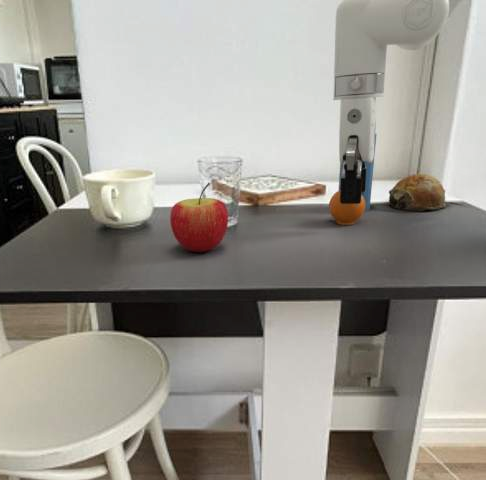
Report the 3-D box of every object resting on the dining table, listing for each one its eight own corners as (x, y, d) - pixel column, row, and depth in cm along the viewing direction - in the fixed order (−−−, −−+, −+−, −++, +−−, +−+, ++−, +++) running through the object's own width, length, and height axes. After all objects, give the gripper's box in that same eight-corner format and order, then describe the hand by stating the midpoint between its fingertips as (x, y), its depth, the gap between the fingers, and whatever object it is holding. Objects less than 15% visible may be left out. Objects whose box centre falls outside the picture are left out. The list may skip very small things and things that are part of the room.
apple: (230, 257, 62) (228, 186, 58) (170, 259, 62) (165, 189, 58) (227, 240, 70) (225, 177, 66) (174, 242, 70) (169, 179, 66)
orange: (347, 216, 80) (350, 184, 78) (371, 224, 75) (374, 189, 73) (321, 221, 78) (322, 187, 76) (343, 229, 73) (345, 193, 71)
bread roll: (438, 230, 82) (465, 192, 79) (389, 207, 82) (413, 168, 79) (423, 217, 91) (446, 182, 88) (378, 197, 91) (400, 161, 88)
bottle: (354, 204, 90) (362, 110, 83) (376, 209, 84) (386, 110, 78) (331, 207, 87) (336, 112, 81) (351, 213, 82) (359, 111, 76)
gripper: (381, 85, 60) (373, 209, 66) (385, 87, 75) (378, 188, 81) (325, 90, 63) (323, 208, 69) (340, 91, 77) (336, 188, 83)
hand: (353, 197), depth 75 cm, fingers open, 9 cm apart
